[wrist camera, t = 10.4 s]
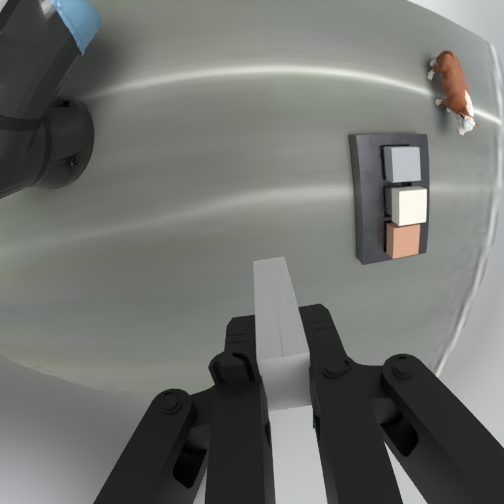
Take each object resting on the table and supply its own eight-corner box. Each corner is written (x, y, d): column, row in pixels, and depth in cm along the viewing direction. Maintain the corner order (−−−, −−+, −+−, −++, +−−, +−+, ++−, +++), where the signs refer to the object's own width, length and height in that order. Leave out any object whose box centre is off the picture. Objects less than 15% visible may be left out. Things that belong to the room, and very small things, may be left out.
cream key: (381, 184, 36) (399, 191, 31) (407, 181, 35) (426, 189, 30) (382, 214, 37) (399, 225, 33) (408, 211, 37) (426, 221, 32)
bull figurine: (435, 133, 34) (466, 136, 27) (419, 55, 29) (448, 46, 21) (453, 133, 34) (484, 136, 26) (438, 58, 28) (468, 51, 21)
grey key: (374, 145, 35) (391, 147, 30) (400, 144, 35) (419, 147, 30) (377, 176, 37) (393, 182, 32) (402, 174, 36) (420, 180, 32)
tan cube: (378, 217, 39) (393, 228, 34) (403, 214, 39) (420, 224, 34) (378, 245, 41) (392, 258, 36) (402, 241, 41) (418, 253, 36)
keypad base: (348, 135, 35) (356, 135, 32) (416, 133, 34) (426, 134, 32) (356, 256, 42) (362, 265, 40) (417, 245, 42) (426, 252, 39)
